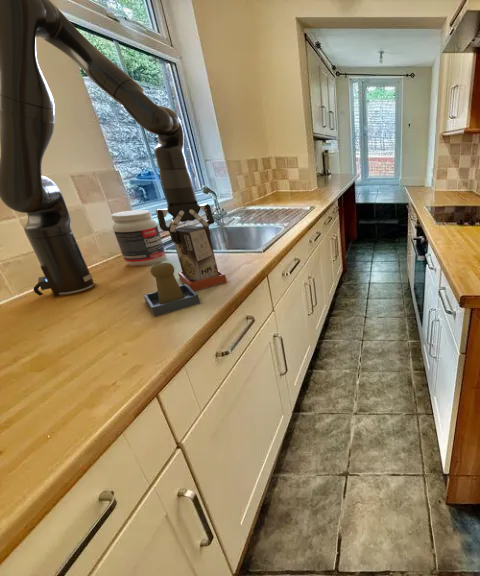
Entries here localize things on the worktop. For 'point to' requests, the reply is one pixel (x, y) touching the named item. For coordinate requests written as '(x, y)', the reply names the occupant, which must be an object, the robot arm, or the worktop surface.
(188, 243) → the coffee box
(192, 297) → the slate tray
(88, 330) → the worktop surface
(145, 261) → the supplement tub
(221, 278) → the terracotta tray
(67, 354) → the worktop surface
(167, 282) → the cork
